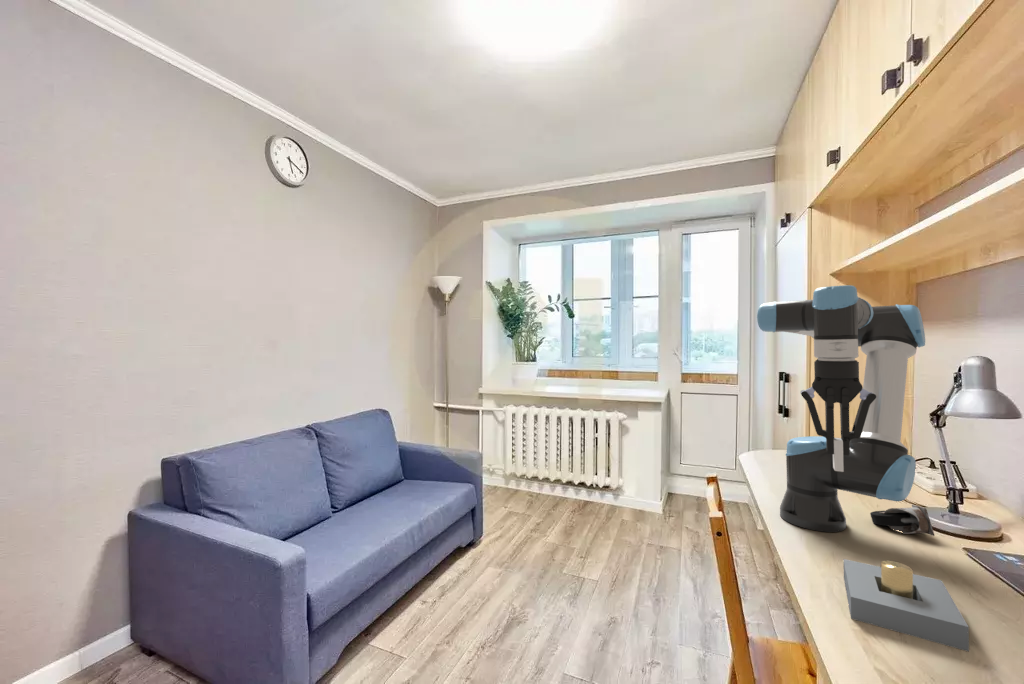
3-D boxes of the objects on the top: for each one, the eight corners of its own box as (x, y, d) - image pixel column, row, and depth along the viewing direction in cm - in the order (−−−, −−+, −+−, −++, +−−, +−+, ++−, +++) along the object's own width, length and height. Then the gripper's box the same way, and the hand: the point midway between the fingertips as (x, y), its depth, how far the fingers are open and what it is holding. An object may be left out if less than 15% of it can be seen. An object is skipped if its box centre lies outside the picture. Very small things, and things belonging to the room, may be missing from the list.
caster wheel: (869, 528, 119) (912, 527, 116) (889, 537, 109) (937, 536, 106) (862, 503, 121) (904, 501, 118) (881, 509, 110) (928, 508, 108)
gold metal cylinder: (879, 599, 83) (879, 558, 83) (910, 606, 81) (909, 564, 81) (883, 611, 79) (883, 568, 79) (915, 619, 77) (915, 575, 77)
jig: (843, 577, 91) (843, 558, 91) (941, 601, 82) (941, 580, 82) (850, 618, 77) (850, 596, 77) (968, 651, 69) (968, 626, 69)
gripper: (800, 360, 90) (802, 470, 91) (879, 360, 84) (882, 479, 84) (797, 358, 97) (800, 460, 97) (871, 357, 90) (873, 468, 91)
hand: (838, 469), depth 91 cm, fingers closed
